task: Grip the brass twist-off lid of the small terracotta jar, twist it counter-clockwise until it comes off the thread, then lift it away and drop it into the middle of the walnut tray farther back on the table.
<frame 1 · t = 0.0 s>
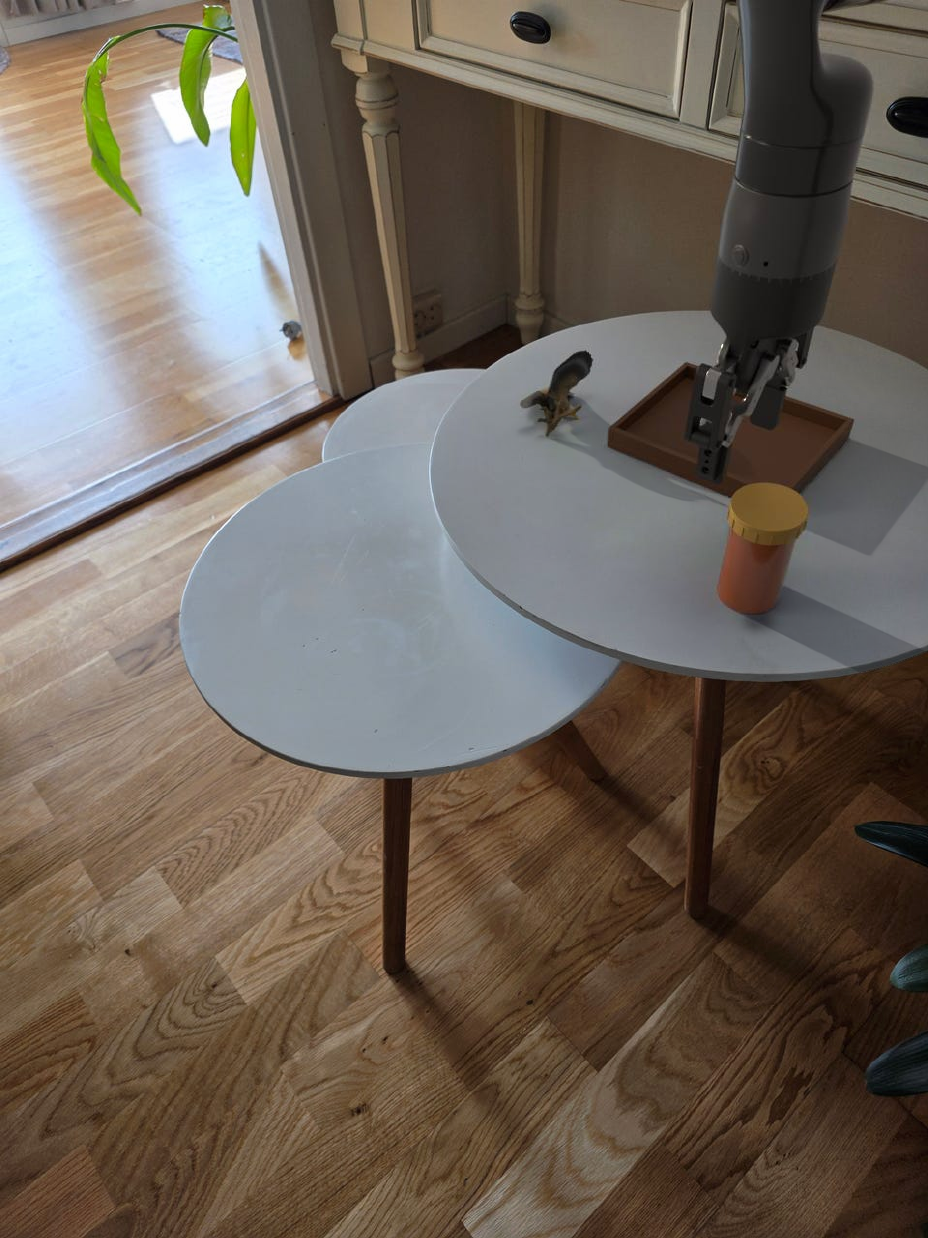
hand: (737, 451, 68), 13 cm above the table, tool pointing down, fingers open, 8 cm apart
eagle figurine: (558, 417, 95), on the table
jar lid: (768, 509, 68), point 9 cm above the table, screwed on, not yet turned
tray: (726, 442, 90), on the table
jar: (748, 592, 75), on the table
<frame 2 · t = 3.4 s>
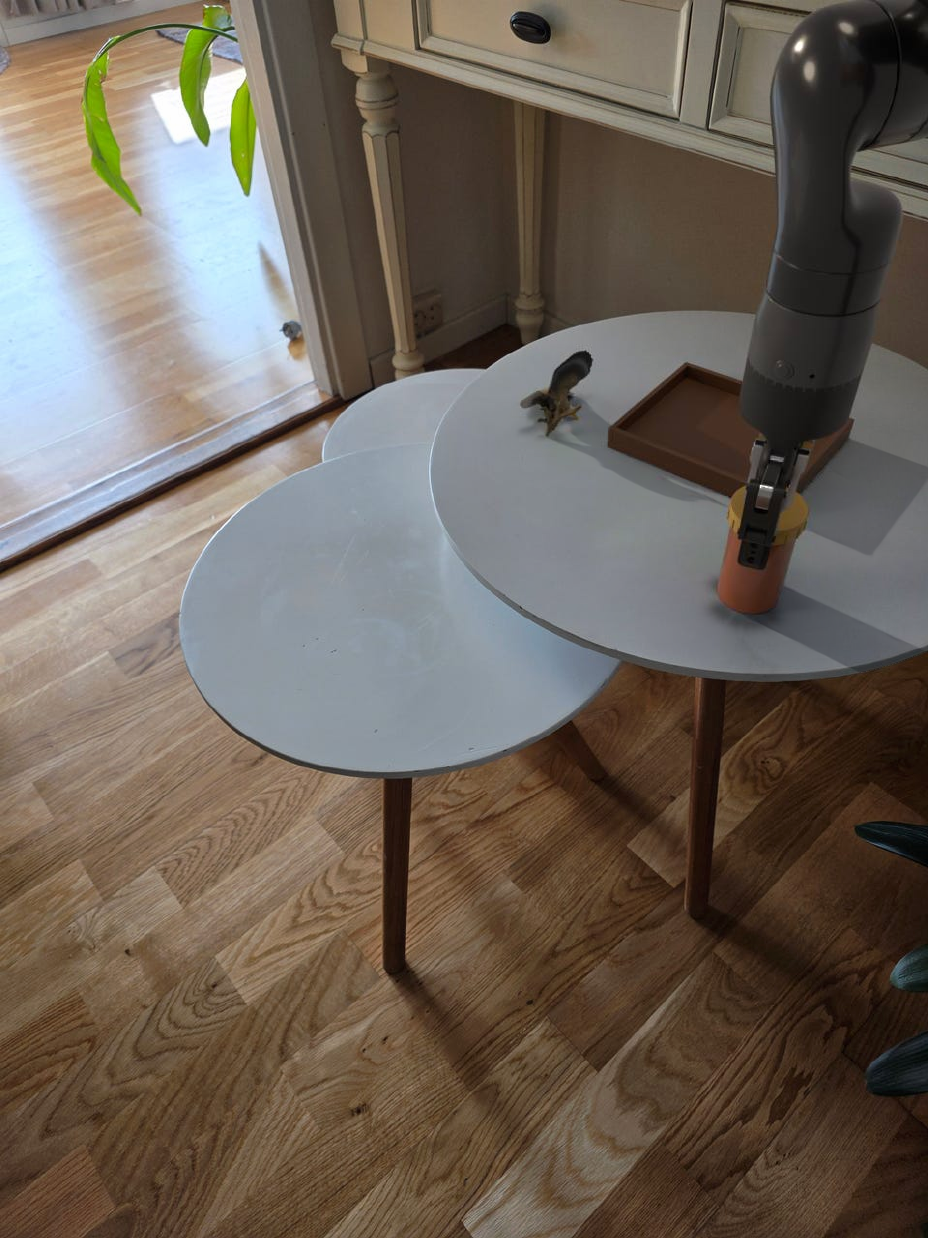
hand: (760, 538, 71), 6 cm above the table, tool pointing down, fingers closed on jar lid, 6 cm apart
jar lid: (768, 510, 68), point 9 cm above the table, screwed on, not yet turned, touching gripper
everything else where it was.
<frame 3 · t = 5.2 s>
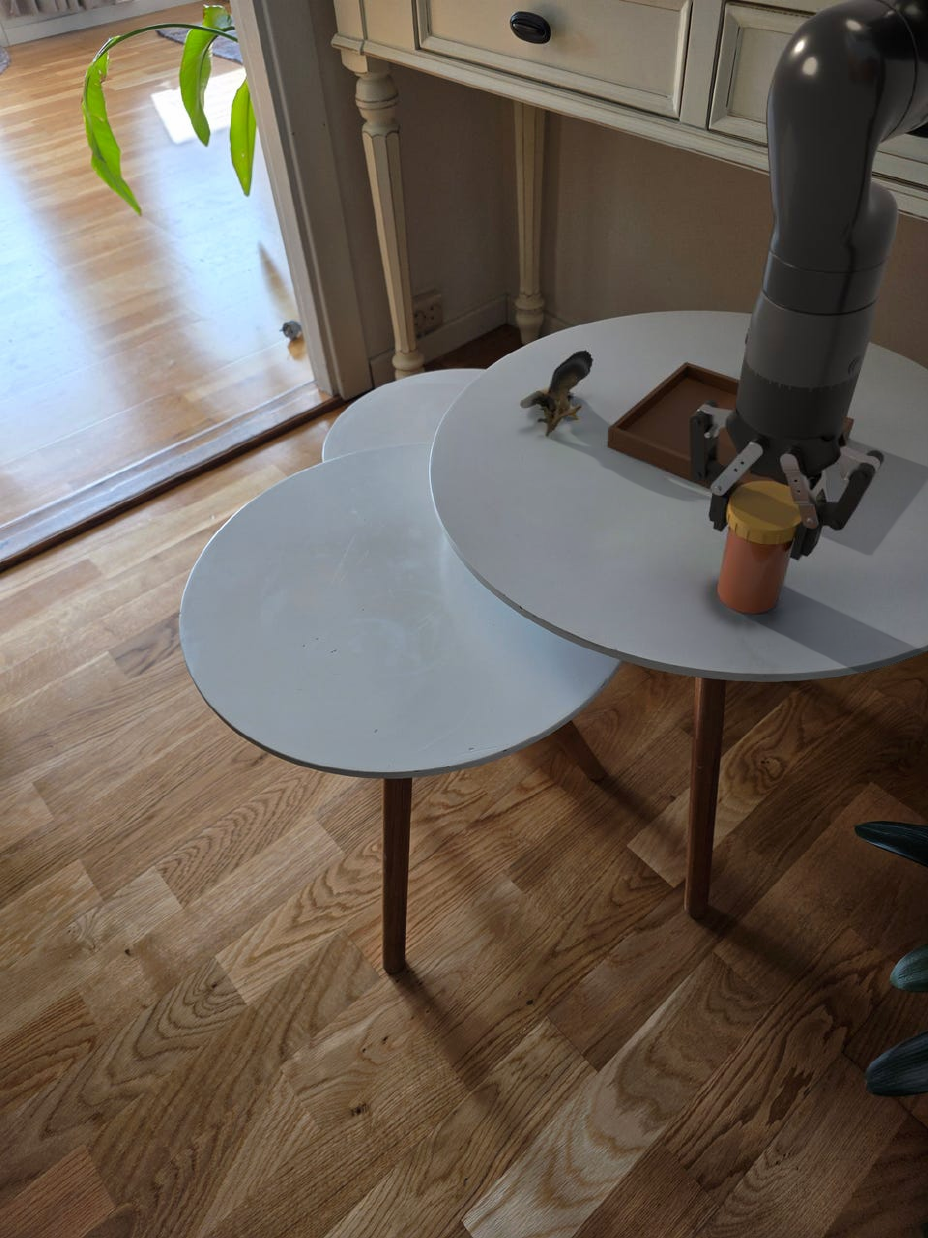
hand: (759, 538, 70), 6 cm above the table, tool pointing down, fingers closed on jar lid, 6 cm apart
jar lid: (767, 508, 68), point 10 cm above the table, turned 79° so far, risen 0.2 cm, still on its thread, touching gripper
everything else where it was.
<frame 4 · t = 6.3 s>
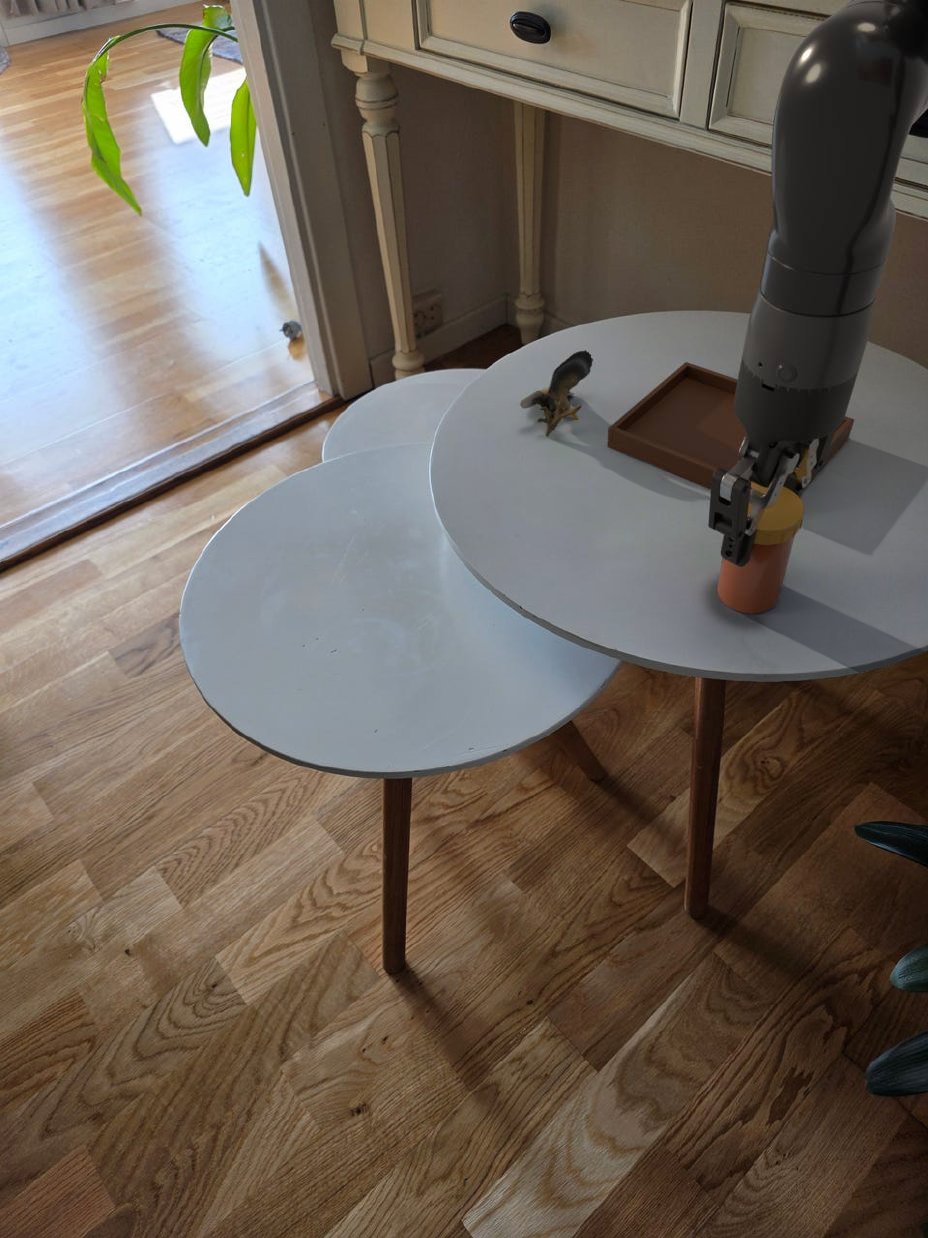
hand: (757, 538, 70), 6 cm above the table, tool pointing down, fingers closed on jar lid, 6 cm apart
jar lid: (763, 509, 68), point 10 cm above the table, off its thread, touching gripper, jar
jar: (748, 591, 75), on the table, touching jar lid
everything else where it was.
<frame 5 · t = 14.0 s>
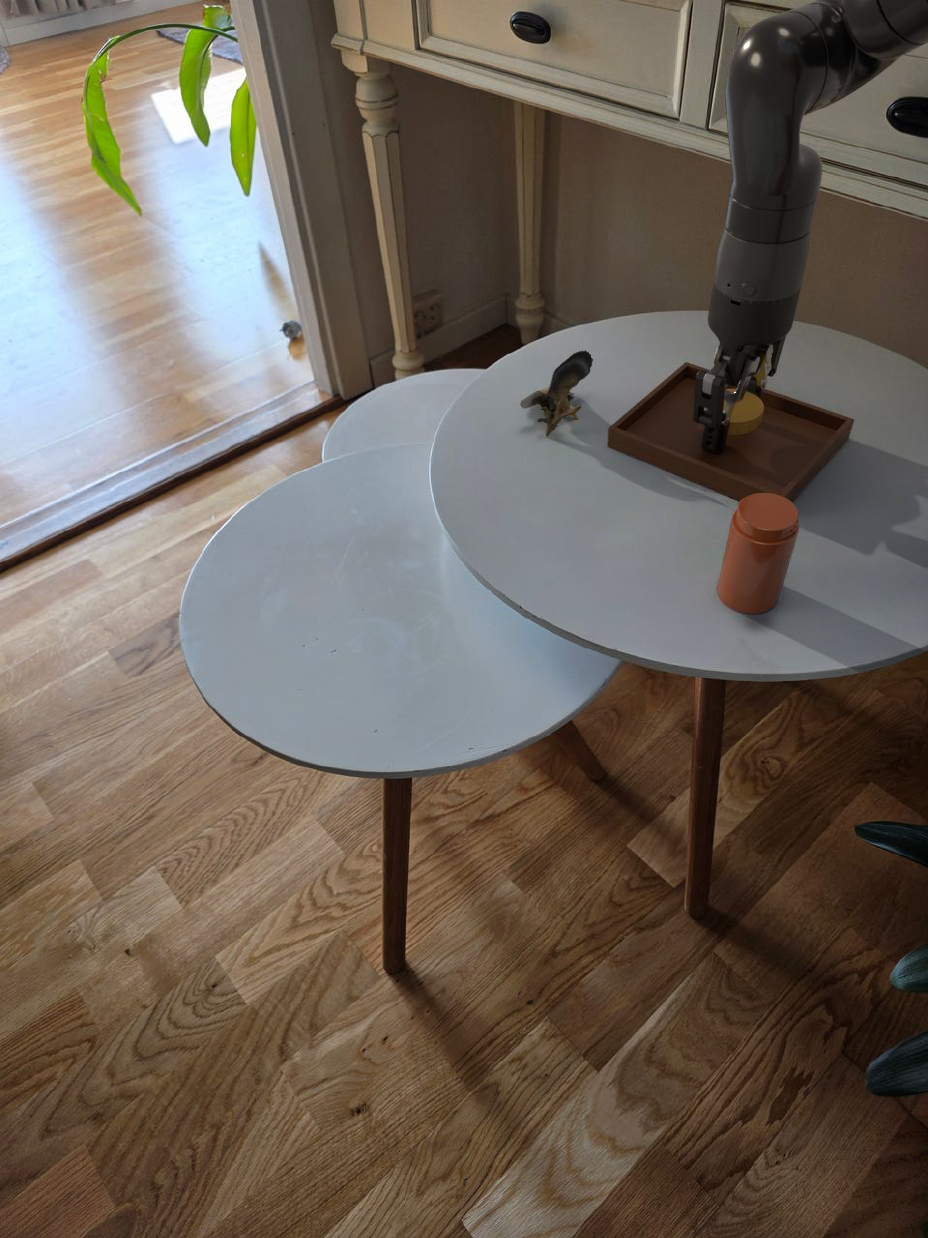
hand: (728, 434, 89), 1 cm above the table, tool pointing down, fingers closed on jar lid, 6 cm apart
jar lid: (732, 408, 87), point 4 cm above the table, off its thread, touching gripper
jar: (748, 592, 75), on the table
everything else where it was.
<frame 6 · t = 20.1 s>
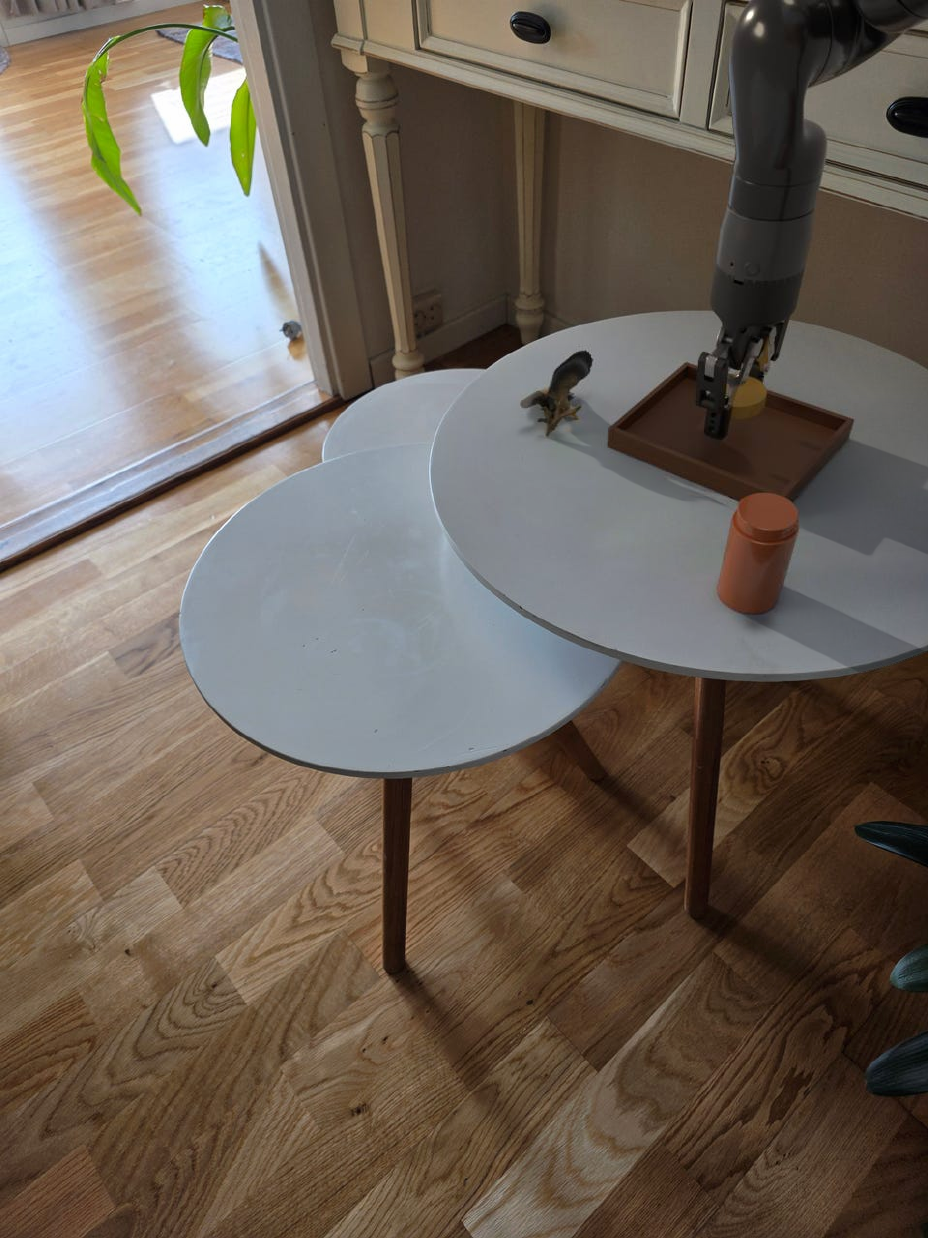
hand: (730, 420, 88), 3 cm above the table, tool pointing down, fingers closed on jar lid, 5 cm apart
jar lid: (735, 393, 85), point 6 cm above the table, off its thread, touching gripper
everything else where it was.
when the fingers open (4 cm above the table, at t = 36.8 s): jar lid drops 5 cm, resting on tray.
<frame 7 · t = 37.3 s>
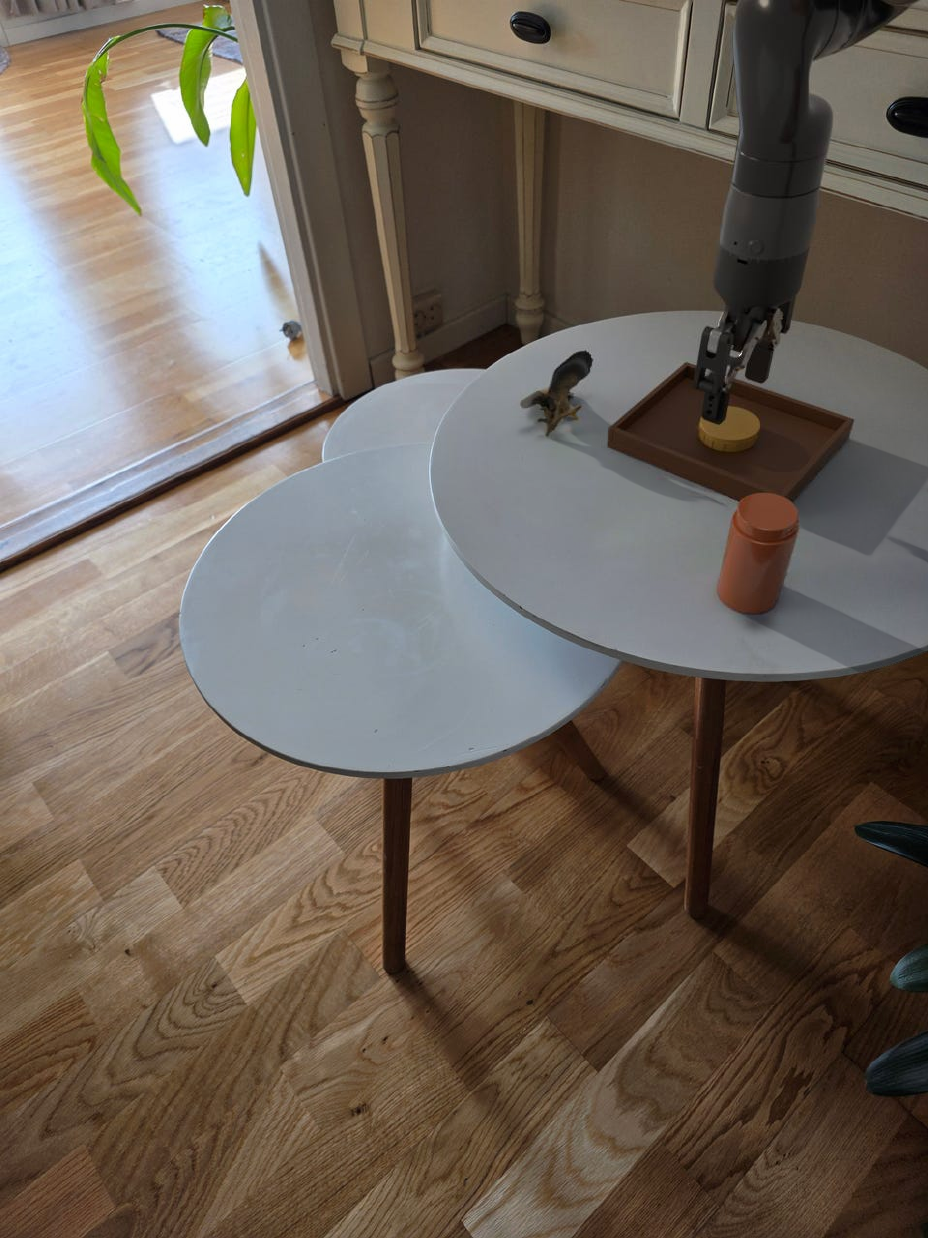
hand: (734, 399, 86), 5 cm above the table, tool pointing down, fingers open, 8 cm apart
jar lid: (729, 425, 88), point 2 cm above the table, off its thread, touching tray
everything else where it was.
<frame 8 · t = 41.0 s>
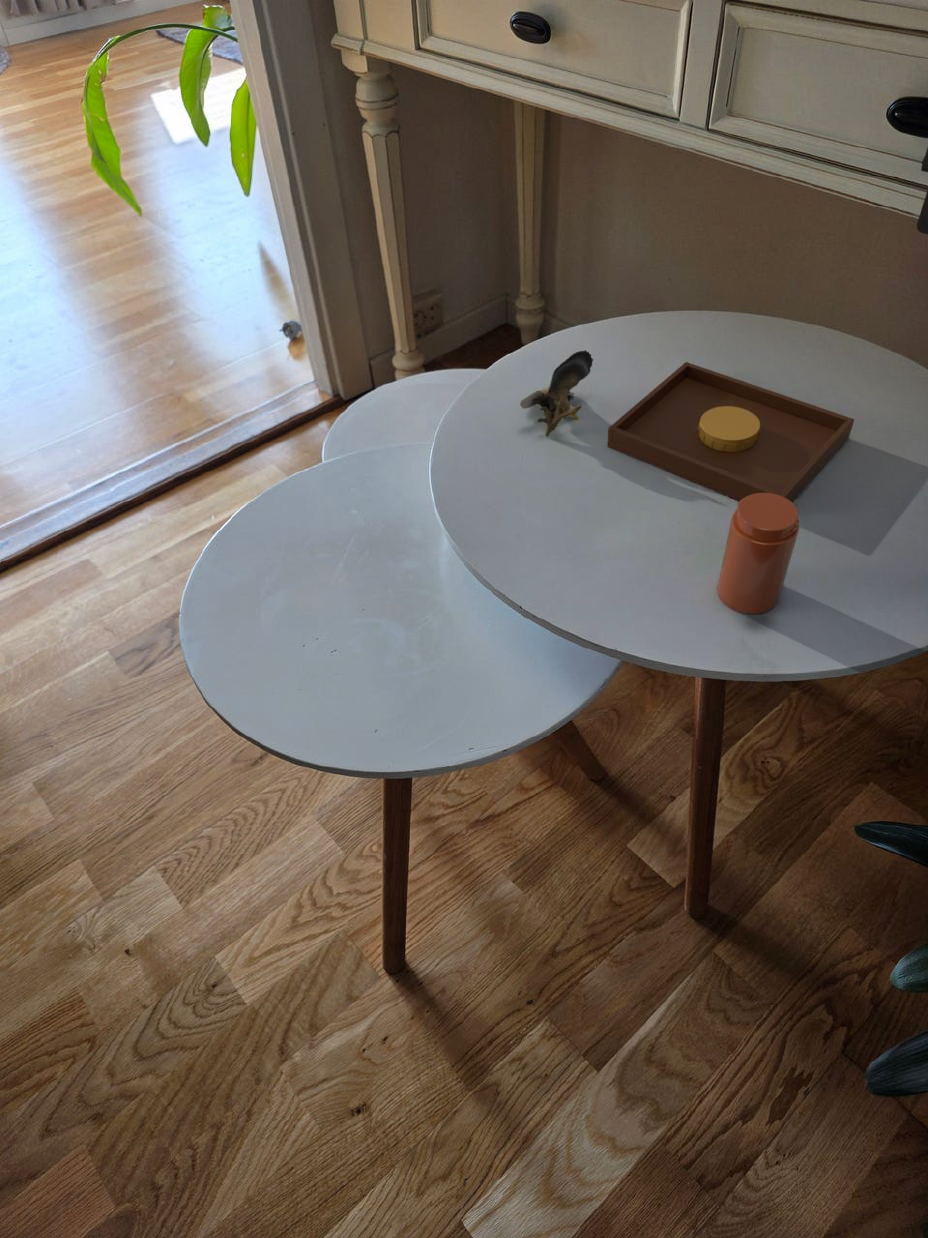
nothing on the table moved.
at the end: jar lid inside the target area in the tray (0.1 cm from its centre), point 1.9 cm above the tray's base; jar lid point 1.9 cm above the table; the gripper is holding nothing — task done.
